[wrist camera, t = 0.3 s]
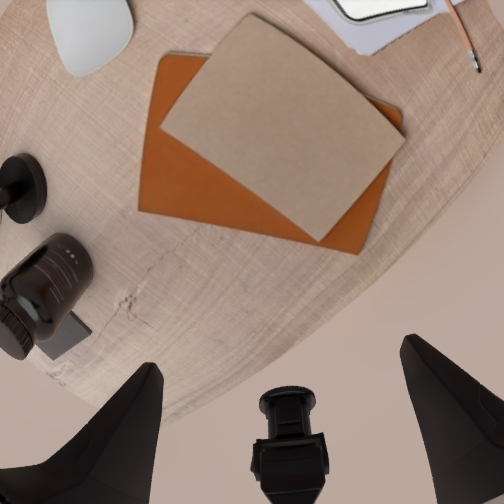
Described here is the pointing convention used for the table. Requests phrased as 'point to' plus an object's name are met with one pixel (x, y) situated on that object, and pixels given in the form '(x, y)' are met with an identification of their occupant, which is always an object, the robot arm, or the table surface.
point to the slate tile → (65, 337)
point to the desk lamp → (22, 188)
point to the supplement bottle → (41, 293)
